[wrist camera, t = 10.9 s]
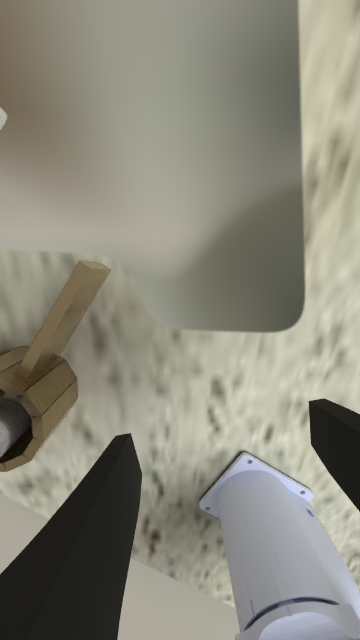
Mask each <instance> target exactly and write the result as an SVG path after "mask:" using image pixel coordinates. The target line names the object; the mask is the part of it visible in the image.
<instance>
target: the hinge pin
mask: <svg viewBox="0 0 360 640" xmlns="http://www.w3.org/2000/svg"><path fill="white" fill-rule="evenodd" d="M31 425H32V420H31V416H30V415H29V414H28V412H27V411H26V410H25V408H24V407H23V405H22V404H21V403H20V401H19V400H18V399H17V398H16V397H14V396H12V395H10V394H9V393H7V392H5V391H4V392H3V393H1V394H0V457H1V456H2V455H3V454H4V453H5V452H6V451H7V450H8V449H9V448H10V447H11V446H12V445H13V444H14V443H15V442H16V441H17V440H18V439H19V437H20V436H21V435H22V434H23V433H24V432H25V431H26V430H27V429H28V428H29V427H30V426H31Z"/></svg>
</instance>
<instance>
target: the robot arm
mask: <svg viewBox="0 0 360 640" xmlns="http://www.w3.org/2000/svg"><path fill="white" fill-rule="evenodd" d="M309 415H310V433H311V445H312V447H313V448H314V450H315V451H316V453H317V455H318V456H319V458H320V459H321V461H322V462H323V464H324V465H325V467H326V468H327V470H328V472H329V473H330V474H331V476H332V477H333V478H334V480H335V481H336V482H337V483H338V485H339V486H340V487H341V489H342V490H343V491H344V492H345V494H346V495H347V496H348V497H349V499H350V500H351V501H352V502H353V504H354V505H355V506H356V508H357V509H358V510H359V511H360V414H358V413H356V412H354V411H351V410H349V409H347V408H345V407H343V406H341V405H338V404H336V403H334V402H331V401H329V400H327V399H319V400H313V401H309ZM248 460H249V461H248ZM141 482H142V472H141V468H140V465H139V461H138V458H137V454H136V450H135V447H134V443H133V440H132V436H131V433H129V434H123V435H118V436H115V438H114V439H113V440H112V441H111V443H110V444H109V445H108V447H107V448H106V449H105V451H104V452H103V453H102V455H101V456H100V457H99V459H98V460H97V461H96V463H95V464H94V465H93V467H92V468H91V469H90V471H89V472H88V473H87V474H86V476H85V477H84V478H83V480H82V481H81V482H80V483H79V485H78V486H77V487H76V489H75V490H74V491H73V492H72V493H71V495H70V496H69V497H68V498H67V500H66V501H65V502H64V503H63V504H62V506H61V507H60V508H59V509H58V510H57V512H56V513H55V514H54V515H53V516H52V518H51V519H50V520H49V521H48V522H47V524H46V525H45V526H44V527H43V528H42V529H41V531H40V532H39V533H38V534H37V535H36V536H35V537H34V538H33V540H32V541H31V542H30V543H29V544H28V545H27V546H26V547H25V548H24V550H23V551H22V552H21V553H20V554H19V555H18V556H17V557H16V558H15V559H14V560H13V561H12V562H11V564H10V565H9V566H8V567H7V568H6V569H5V570H4V571H3V572H2V573H1V574H0V640H117V636H118V628H119V620H120V614H121V607H122V601H123V595H124V590H125V584H126V578H127V573H128V567H129V562H130V557H131V551H132V546H133V540H134V534H135V529H136V523H137V517H138V512H139V506H140V495H141ZM313 498H314V494H313V492H312V491H311V490H310V489H308V488H306V487H305V486H303V485H301V484H300V483H298V482H296V481H295V480H293V479H291V478H289V477H288V476H286V475H284V474H283V473H281V472H279V471H278V470H276V469H274V468H272V467H271V466H269V465H267V464H266V463H264V462H262V461H260V460H259V459H257V458H255V457H254V456H252V455H250V454H249V453H246V452H244V453H242V454H241V455H240V456H239V457H238V458H237V459H236V460H235V461H234V463H233V464H232V465H231V466H230V467H229V468H228V469H227V471H226V472H225V473H224V474H223V475H222V476H221V477H220V479H219V480H218V481H217V482H216V483H215V484H214V485H213V487H212V488H211V489H210V490H209V491H208V492H207V493H206V495H205V496H204V497H203V498H202V499H201V500H200V502H199V508H200V509H201V510H203V511H205V512H207V513H209V514H211V515H213V516H215V517H217V518H218V519H220V524H221V530H222V535H223V541H224V546H225V552H226V557H227V563H228V568H229V574H230V579H231V584H232V590H233V595H234V601H235V606H236V612H237V617H238V622H239V628H240V633H239V634H236V635H235V639H236V640H360V591H359V589H358V586H357V584H356V582H355V580H354V578H353V576H352V574H351V572H350V571H349V569H348V567H347V566H346V564H345V562H344V560H343V559H342V557H341V555H340V554H339V552H338V550H337V549H336V547H335V545H334V543H333V542H332V540H331V538H330V537H329V535H328V533H327V532H326V530H325V528H324V527H323V525H322V523H321V521H320V520H319V518H318V516H317V515H316V513H315V511H314V510H313V508H312V506H311V505H310V503H309V502H310V501H311V500H312V499H313Z"/></svg>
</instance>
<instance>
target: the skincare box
mask: <svg viewBox="0 0 360 640" xmlns="http://www.w3.org/2000/svg"><path fill="white" fill-rule="evenodd" d="M6 120H7V114H6V113H5V112H4V110H3V109H2V108H0V131H1V129H2V127H3V126H4V124H5V122H6Z"/></svg>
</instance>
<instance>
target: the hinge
mask: <svg viewBox="0 0 360 640" xmlns="http://www.w3.org/2000/svg"><path fill="white" fill-rule="evenodd" d="M109 272H110V269H109V268H107V267H106V266H104V265H103V264H99V263H92V262H85V261H79V262H78V264H77V266H76V268H75V269H74V271H73V273H72V275H71V276H70V278H69V280H68V282H67V283H66V285H65V287H64V289H63V290H62V292H61V294H60V296H59V298H58V299H57V301H56V303H55V305H54V306H53V308H52V310H51V312H50V313H49V315H48V317H47V319H46V320H45V322H44V324H43V326H42V327H41V329H40V331H39V333H38V335H37V336H36V338H35V340H34V342H33V343H32V345H31V347H24V346H21V347H18V348H16V349H14V350H12V351H9V352H7V353H5V354H3V355H1V356H0V394H1V393H2V390H3V391H5V392H7V393H9V394H10V395H12V396H14V397H16V398H17V399H18V400H19V401H20V403H21V404H22V405H23V407H24V408H25V410H26V411H27V412H28V414H29V415H30V416H31V420H32V425H31V426H30V427H29V428H28V429H27V430H26V431H25V432H24V433H23V434H22V435H21V436H20V437H19V439H18V440H17V441H16V442H15V443H14V444H13V445H12V446H11V447H10V448H9V449H8V450H7V451H6V452H5V453H4V454H3V455H2V456H1V457H0V471H1V472H6V471H10V470H12V469H14V468H16V467H19V466H21V465H23V464H25V463H28V462H30V461H31V460H32V459H33V458H34V456H35V455H36V454H37V452H38V451H39V450H40V449H41V447H42V446H43V445H44V443H45V442H46V441H47V439H48V438H49V437H50V436H51V434H52V433H53V432H54V430H55V429H56V428H57V426H58V425H59V424H60V423H61V421H62V420H63V419H64V417H65V416H66V415H67V414H68V412H69V410H70V409H71V407H72V406H73V404H74V403H75V401H76V400H77V398H78V394H77V379H76V378H77V377H76V376H75V374H74V373H73V371H72V370H71V368H70V367H69V365H68V364H67V362H66V361H65V360H64V359H63V358H61V357H59V355H60V353H61V352H62V350H63V348H64V347H65V345H66V343H67V342H68V340H69V338H70V337H71V335H72V333H73V332H74V330H75V328H76V327H77V325H78V324H79V322H80V320H81V319H82V317H83V315H84V314H85V312H86V310H87V309H88V307H89V305H90V304H91V302H92V300H93V299H94V297H95V295H96V294H97V292H98V290H99V289H100V287H101V285H102V284H103V282H104V280H105V279H106V277H107V275H108V274H109Z"/></svg>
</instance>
